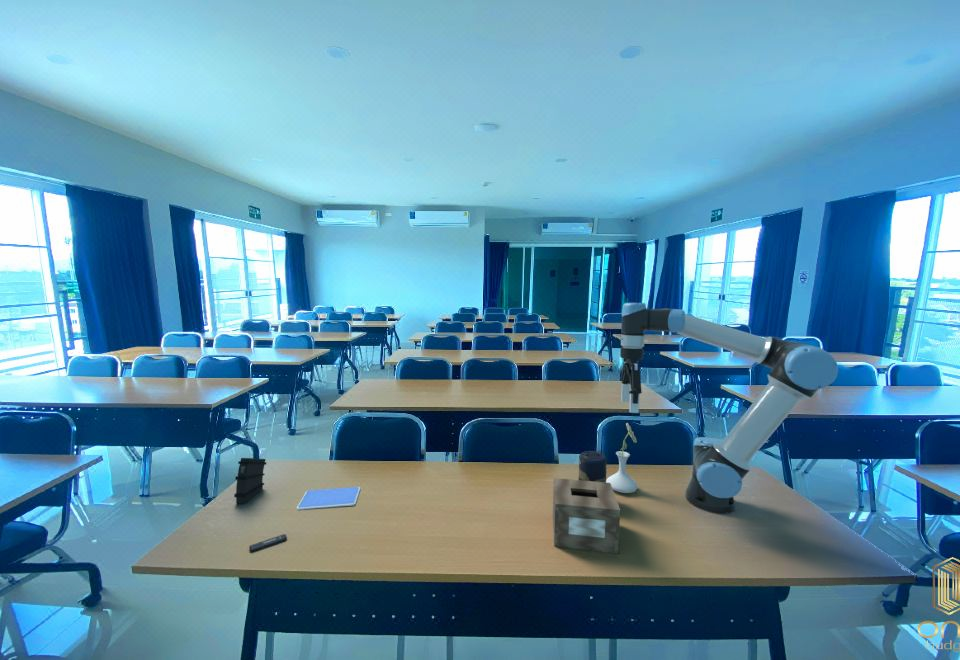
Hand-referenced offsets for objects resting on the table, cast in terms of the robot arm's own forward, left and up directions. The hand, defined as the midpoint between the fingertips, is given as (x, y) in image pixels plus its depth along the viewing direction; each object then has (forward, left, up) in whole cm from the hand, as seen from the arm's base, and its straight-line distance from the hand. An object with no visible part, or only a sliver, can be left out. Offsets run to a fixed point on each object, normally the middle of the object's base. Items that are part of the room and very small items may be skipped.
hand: (629, 406), depth 133 cm
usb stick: (+108, +44, -35) cm, 122 cm away
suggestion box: (+17, +22, -35) cm, 44 cm away
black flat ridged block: (+134, +21, -35) cm, 140 cm away
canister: (+12, +2, -35) cm, 37 cm away
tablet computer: (+105, +18, -36) cm, 112 cm away
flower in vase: (-1, -10, -35) cm, 36 cm away
